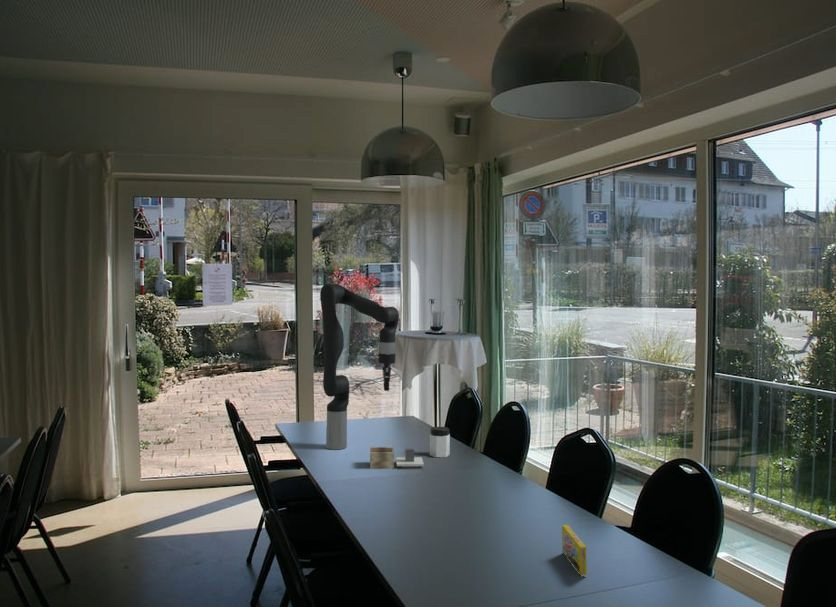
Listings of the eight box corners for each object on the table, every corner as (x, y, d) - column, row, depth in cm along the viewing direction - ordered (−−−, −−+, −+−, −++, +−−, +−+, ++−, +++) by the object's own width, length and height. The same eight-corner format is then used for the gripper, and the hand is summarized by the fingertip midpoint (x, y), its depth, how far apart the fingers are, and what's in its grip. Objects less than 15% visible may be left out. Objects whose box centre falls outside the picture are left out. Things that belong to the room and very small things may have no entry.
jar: (453, 456, 307) (453, 429, 306) (439, 458, 302) (439, 431, 301) (439, 452, 314) (440, 425, 313) (426, 454, 308) (426, 427, 308)
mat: (397, 470, 282) (397, 469, 282) (396, 462, 295) (396, 461, 295) (423, 470, 282) (423, 469, 282) (420, 462, 295) (420, 460, 295)
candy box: (561, 553, 198) (561, 524, 198) (568, 553, 198) (569, 524, 198) (579, 577, 182) (579, 546, 181) (587, 577, 182) (587, 546, 182)
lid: (396, 468, 283) (396, 452, 282) (395, 461, 294) (395, 445, 293) (423, 468, 283) (423, 451, 283) (421, 461, 294) (421, 445, 294)
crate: (370, 469, 283) (370, 452, 282) (370, 463, 292) (370, 447, 292) (393, 469, 283) (394, 452, 283) (392, 463, 293) (393, 447, 293)
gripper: (378, 350, 312) (377, 386, 312) (378, 354, 297) (377, 391, 298) (395, 350, 312) (394, 386, 313) (396, 354, 298) (395, 391, 299)
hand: (386, 388), depth 305 cm, fingers open, 8 cm apart
